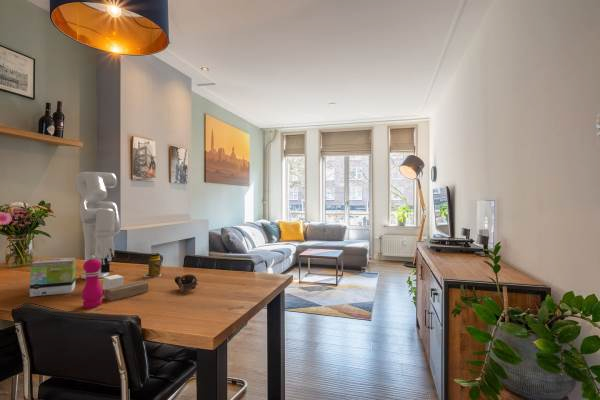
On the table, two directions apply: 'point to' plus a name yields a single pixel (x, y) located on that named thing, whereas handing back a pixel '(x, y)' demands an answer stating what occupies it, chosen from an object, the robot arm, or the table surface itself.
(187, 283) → the pottery mug
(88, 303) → the pepper mill
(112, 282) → the block
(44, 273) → the tea box
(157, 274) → the condiment
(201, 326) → the table surface
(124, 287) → the board
